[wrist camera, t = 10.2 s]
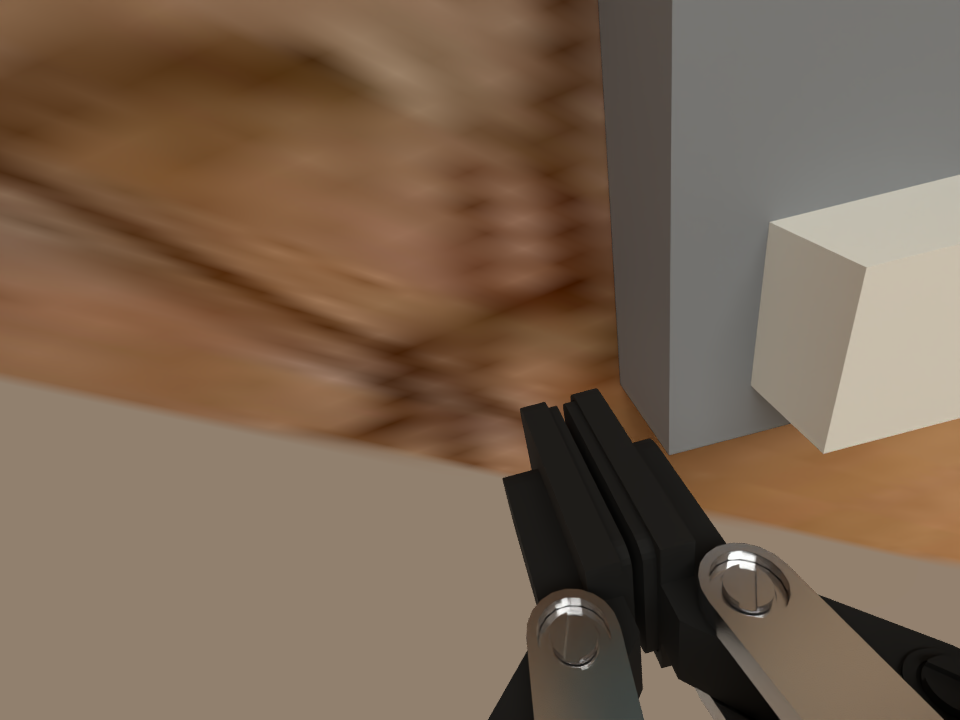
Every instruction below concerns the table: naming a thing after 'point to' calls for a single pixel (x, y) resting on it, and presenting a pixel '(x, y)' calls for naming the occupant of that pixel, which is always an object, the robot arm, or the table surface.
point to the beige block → (863, 316)
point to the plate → (750, 170)
